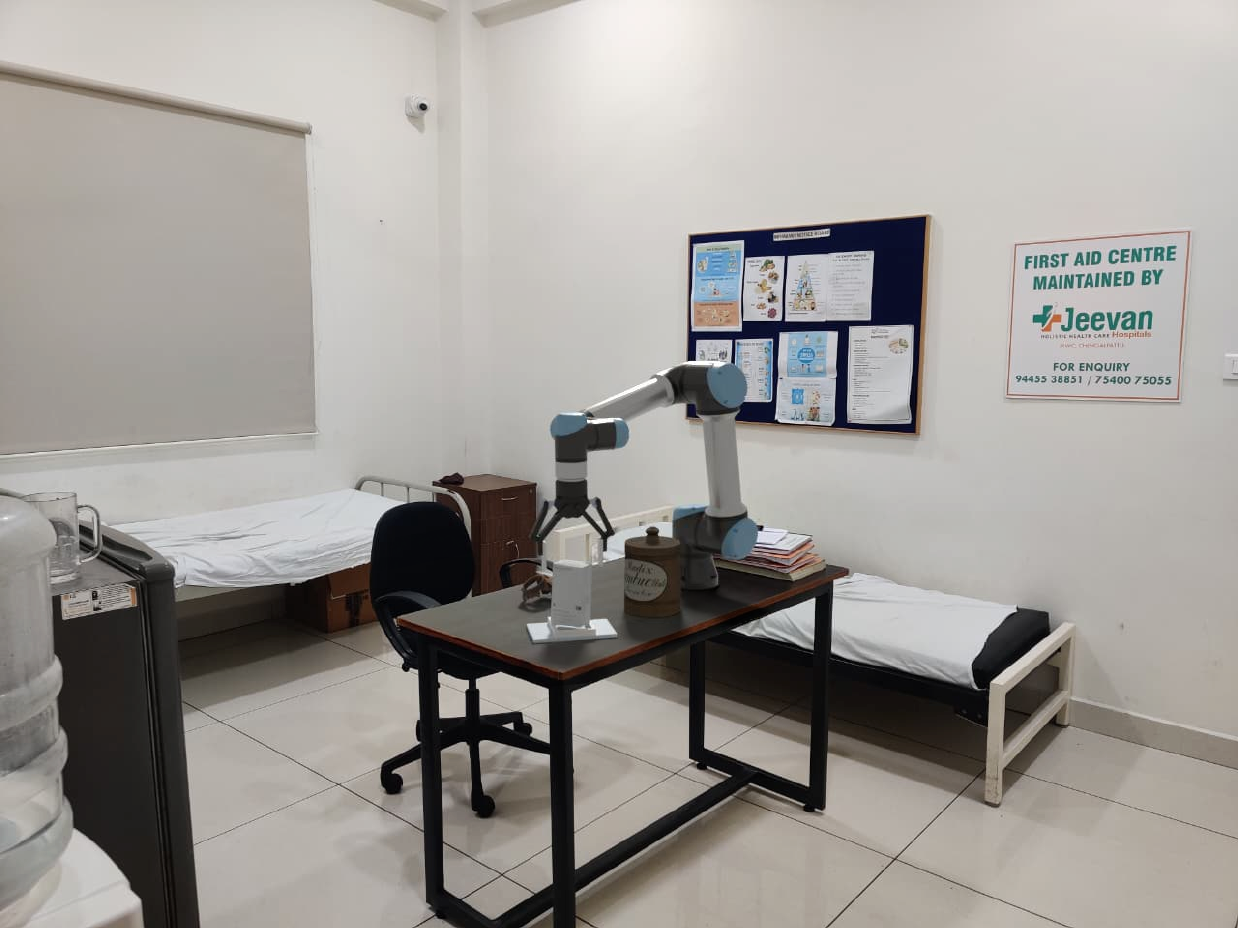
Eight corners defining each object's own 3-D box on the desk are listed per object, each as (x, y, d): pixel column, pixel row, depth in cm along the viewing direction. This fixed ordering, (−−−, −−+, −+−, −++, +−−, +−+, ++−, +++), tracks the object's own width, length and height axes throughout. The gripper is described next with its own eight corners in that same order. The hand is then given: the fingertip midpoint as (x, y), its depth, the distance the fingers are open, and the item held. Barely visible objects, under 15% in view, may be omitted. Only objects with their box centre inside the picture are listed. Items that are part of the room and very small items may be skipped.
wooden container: (612, 611, 231) (613, 528, 228) (644, 597, 243) (645, 518, 240) (660, 621, 222) (662, 535, 219) (690, 607, 234) (692, 525, 231)
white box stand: (606, 621, 221) (606, 612, 221) (617, 637, 210) (617, 627, 210) (526, 626, 217) (526, 617, 217) (533, 643, 205) (533, 633, 205)
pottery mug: (561, 608, 234) (546, 583, 232) (530, 621, 236) (515, 597, 233) (565, 585, 245) (550, 561, 243) (535, 598, 247) (520, 575, 244)
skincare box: (550, 624, 212) (550, 563, 210) (561, 617, 217) (561, 557, 215) (582, 628, 209) (582, 566, 207) (592, 621, 214) (592, 561, 212)
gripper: (619, 474, 215) (619, 559, 218) (516, 478, 209) (518, 565, 212) (626, 479, 208) (627, 567, 211) (520, 483, 202) (522, 574, 205)
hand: (572, 566), depth 211 cm, fingers open, 13 cm apart
